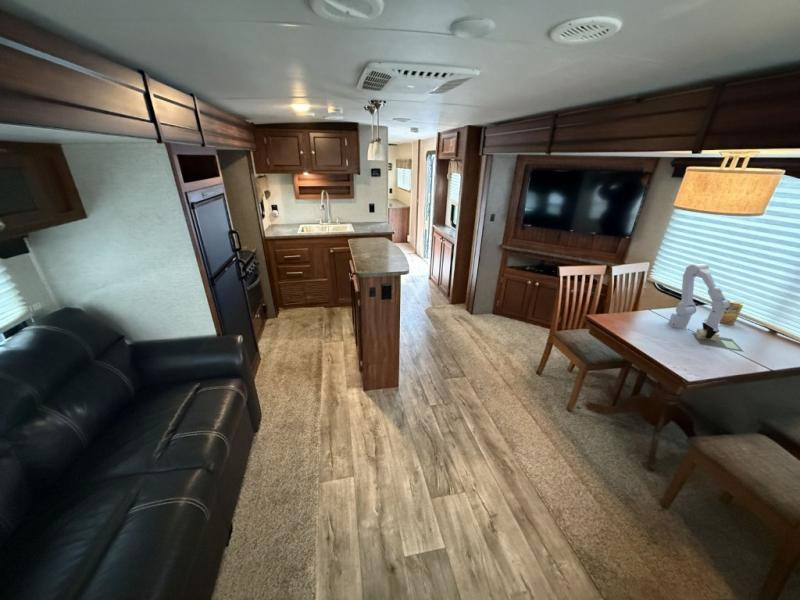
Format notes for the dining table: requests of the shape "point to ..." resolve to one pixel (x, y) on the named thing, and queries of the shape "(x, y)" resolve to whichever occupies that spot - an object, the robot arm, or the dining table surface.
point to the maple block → (702, 334)
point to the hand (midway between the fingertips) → (706, 336)
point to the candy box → (731, 313)
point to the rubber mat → (719, 343)
